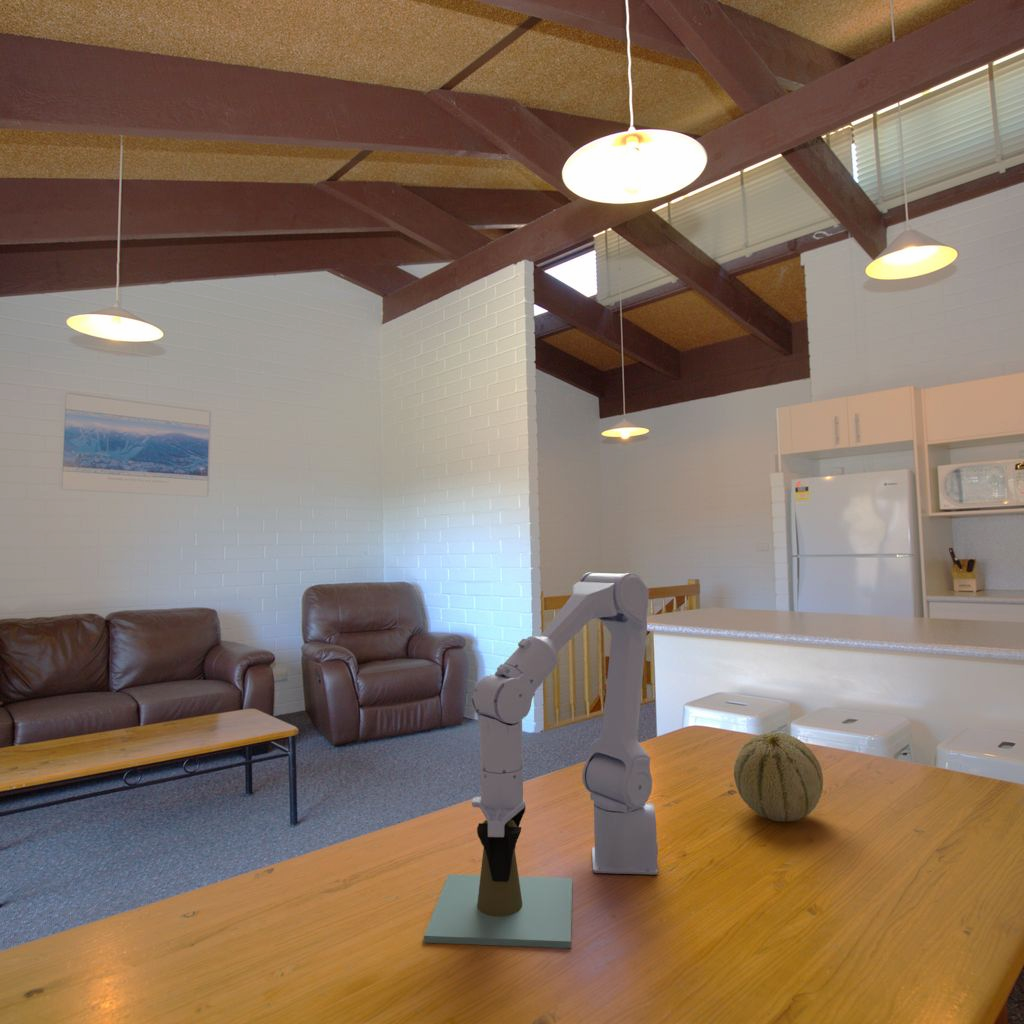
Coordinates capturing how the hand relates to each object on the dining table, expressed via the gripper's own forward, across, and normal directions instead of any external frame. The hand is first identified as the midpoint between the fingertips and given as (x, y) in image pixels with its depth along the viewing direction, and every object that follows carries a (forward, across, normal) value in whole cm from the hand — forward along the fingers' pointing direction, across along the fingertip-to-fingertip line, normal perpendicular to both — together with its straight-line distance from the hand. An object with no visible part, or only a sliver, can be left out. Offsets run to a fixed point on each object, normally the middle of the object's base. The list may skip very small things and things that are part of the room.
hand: (503, 870), depth 92 cm
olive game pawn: (+5, 0, 0) cm, 5 cm away
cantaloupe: (+5, -34, +45) cm, 57 cm away
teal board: (+5, 0, 0) cm, 5 cm away
